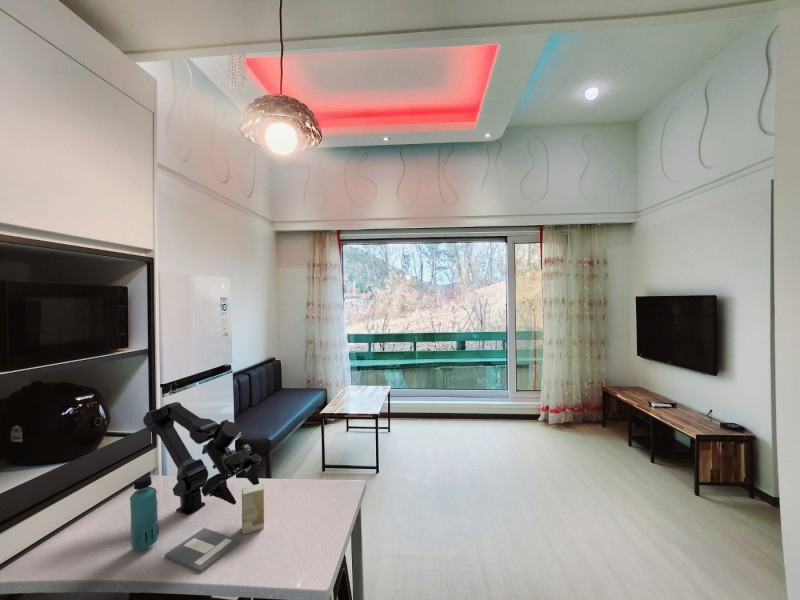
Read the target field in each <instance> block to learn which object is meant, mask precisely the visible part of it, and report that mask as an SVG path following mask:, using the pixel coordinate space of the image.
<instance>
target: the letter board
mask: <svg viewBox="0 0 800 600" xmlns="http://www.w3.org/2000/svg"><path fill="white" fill-rule="evenodd" d="M240 541H241V540H240V539H239V538H236V537H232V536H229V535H226V534H223V533H221V532H218V531H216V530H215V531H214V530H212V529H209V528H206V527H204V528H202V529H201V530H198V532H196V533H194V534H193V535H191V536H190V537H188V538H187V539H185V540H184V541H182V542H181V543H180V544H178V545H176V546H175V547H174V548H172V549H170V550H169V551H167V552H166V553H165V554H164V555H163V556H164V557H163V558H164V559H168V560H169V561H171V562H173V563H177V564H179V565H182V566H183V567H187V568H188V569H191V570H194V571H196V572H198V573H199V574H200V573H201V574H202V573H203V572H205V571H206V570H207V569H208V568H210V567H211V566H212V565H213V564H215V563H216V562H217V561H218V560H219V559H221V558H222V557H224V555H226V554H227V553H228V552H229V551H231V550H232V549H234V548H235V547H236V546H237V545H238V544H240V543H241V542H240Z"/></svg>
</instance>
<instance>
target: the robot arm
mask: <svg viewBox="0 0 800 600" xmlns="http://www.w3.org/2000/svg"><path fill="white" fill-rule="evenodd" d="M142 421H143V425H145V426H146V428H147V429H148V431H149V432H151V433H153V434H155V435H158V436H159V439H160V440H161V441H162V443H163V446H164V447H165V448H166V450H167V453H168V454H169V456H170V457H171V460H172V461H173V463H174V465H175V466H176V468H177V472H176V473H177V474H176V481H177V483H176V484H175V485H174V486H173V488H172V492H173V495H174V496H175V497H179V499H180V500H179V502H180V506H179V507H177V508H176V509H175V511H176V512H178V513H181V514H183V515H187V516H189V515H191V514H192V513H194V512H195V511H197V510H199V509H201V508H202V507H204V506H206V502H204V501H202V496H203V497H207V496H209V497H210V498H211V497H215V498H218V499H221V500H223V501H225V502H227V503H229V504H231V505H233V506H235V505H236V504H237V501H236V498H235V497H234V495H233V494H232V492H231V490H230V489H229V488H228V483H227V480H229V479H231V478H233V477H234V476H236V475H238V474H240V473H242V472H243V473H244V475H243V476H244V477H245V478H246V479H247V480H248V481H249V482H250V484H252V485H257V484H260V479H259V475H258V474H259V473H258V466H259V464H260V462H261V460H262V458H261V456H260V455H259V454H257V453H254V454H252V453H253V452H252V451H253V450H252V447H251V446H250V445H249V444H248V443H247V444H244V445H243V446H241V447H240V450H238V451H236V450H235V449H230V448H229V447H230V446H231V445H232V444H233V442H234V441H235V440H236V439H237V437H238V436H239V435H240V433H241V427H240V425H239V424H237V423H235V422H234V421H229V419H224V420H222V421H221V422H220V423H218V422H217V421H215V420H213V419H210V418H204V417H203V418H202V417H199V416H198V415H196V414H195V413H193V412H192V411H190V410H189V409H188V408H185V406H183V405H182V404H181V403H180V402H179V401H175V402H171V403H168V404H164V406H161V407H160V408H157V409H154V410H149V411H147V412H146V413H145V415H144V416H143V419H142ZM175 422H176V423H177V424H178V425H180V426H181V427H183V429H185V430H187V431H188V432H189V438H190V439H191V440H192V441H193V442H194V443H195V444H197V445H201V444H204V443H205V444H204V445H202V448H203V449H202V451H201V455H205V454H207V455H208V457H209V458H210V460H211V462H212V463H213V465H212V468H213V470H215V469H217V470H218V473H216V474H215V475H213V476H211V477H209V471H208V469H207V468H208V467H207V466H206V465H205V464H204V461H203V459H201V458H198V459H194V458H193V457H192V455H191V453H190V452H189V450H188V448H187V447H186V444H185V443H184V441H183V440H182V438H181V435H179V433H178V431H177V429H176V428H175V426H174V425H175ZM206 442H207V443H206ZM250 454H252V455H251V456H250Z"/></svg>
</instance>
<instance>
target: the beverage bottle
mask: <svg viewBox="0 0 800 600" xmlns="http://www.w3.org/2000/svg"><path fill="white" fill-rule="evenodd" d="M152 482H153V481H152V476H150V475H145V476H144V475H143V476H141V477H138V478H136V479H135V480H134V482H133V483H134V484H133V485H134V486H133V489H134V490H135V491H134V492H133V493H132V494H131V496H130V497H129V505H130V506H129V507H130V543H131V548H132V550H135V551H140V550H144V549H147V548H149V547H151V546H153V545H154V544H155V543H156V542H157V541H158V538H159V522H158V518H159V517H158V511H159V510H158V506H159V505H158V504H159V503H158V501H157V500H158V498H157V489H156V488H155V487H152V486H151V485H152Z"/></svg>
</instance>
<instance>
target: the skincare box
mask: <svg viewBox="0 0 800 600" xmlns="http://www.w3.org/2000/svg"><path fill="white" fill-rule="evenodd" d="M264 492H265V491H264V483H263V482H261V483H259V484H257V485H253V484H252V485H249V486H248V485H247V486H245V487H241V532H242V535H246V534H249V533H253V532H256V531H259V530H263V529H264V528H265V502H264V501H265V498H264V496H265V493H264Z"/></svg>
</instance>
